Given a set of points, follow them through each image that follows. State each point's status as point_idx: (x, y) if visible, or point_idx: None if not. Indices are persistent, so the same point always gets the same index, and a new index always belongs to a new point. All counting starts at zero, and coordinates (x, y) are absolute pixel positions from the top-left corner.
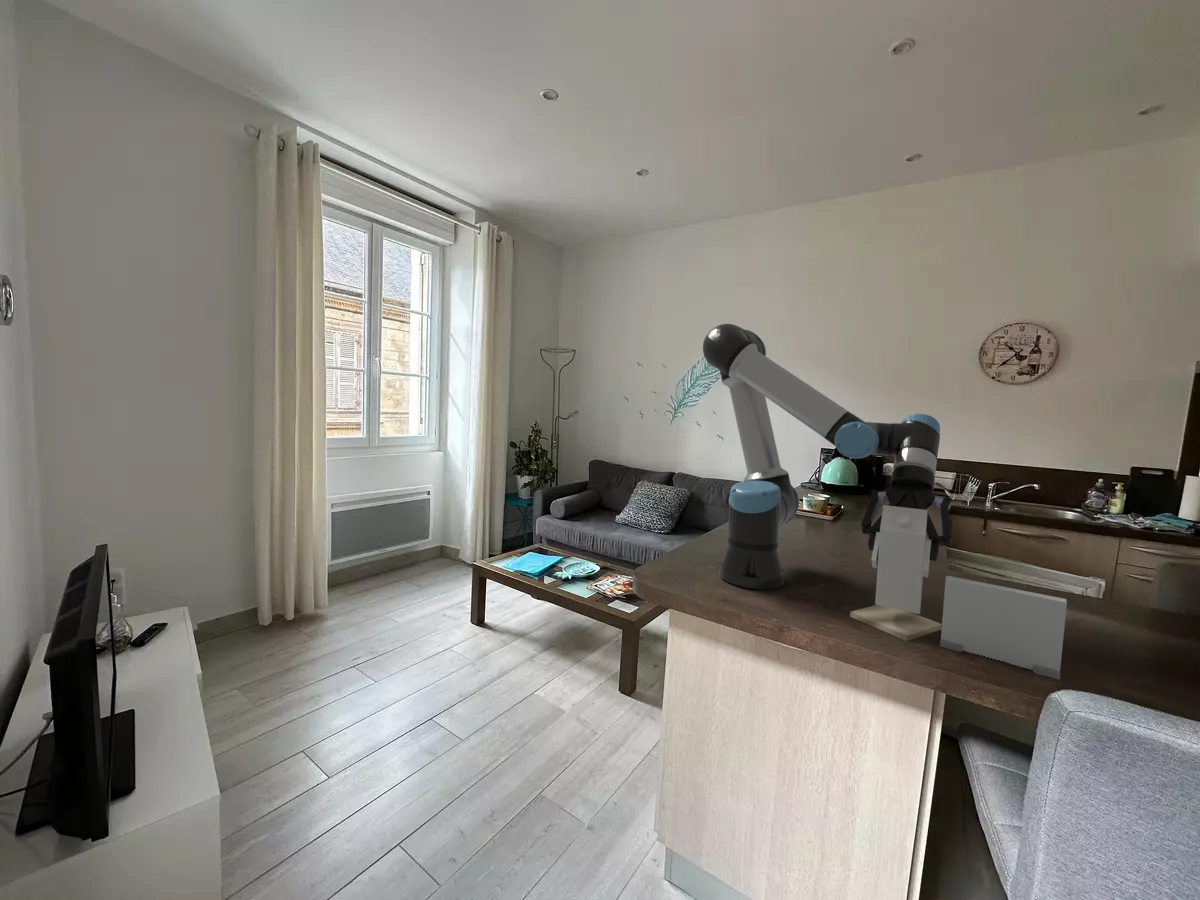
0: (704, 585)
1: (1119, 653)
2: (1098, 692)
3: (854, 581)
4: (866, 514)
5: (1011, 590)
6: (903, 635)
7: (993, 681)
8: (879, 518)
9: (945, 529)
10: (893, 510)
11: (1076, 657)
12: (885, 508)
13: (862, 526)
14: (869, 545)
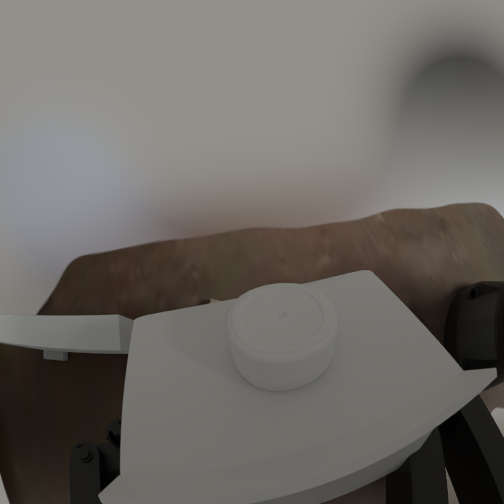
0: (479, 251)
1: (25, 460)
2: None
3: (373, 499)
4: (487, 419)
5: (15, 324)
6: (217, 300)
7: (102, 255)
8: (436, 442)
9: (89, 492)
10: (413, 407)
11: (41, 420)
12: (466, 378)
13: None
14: None
